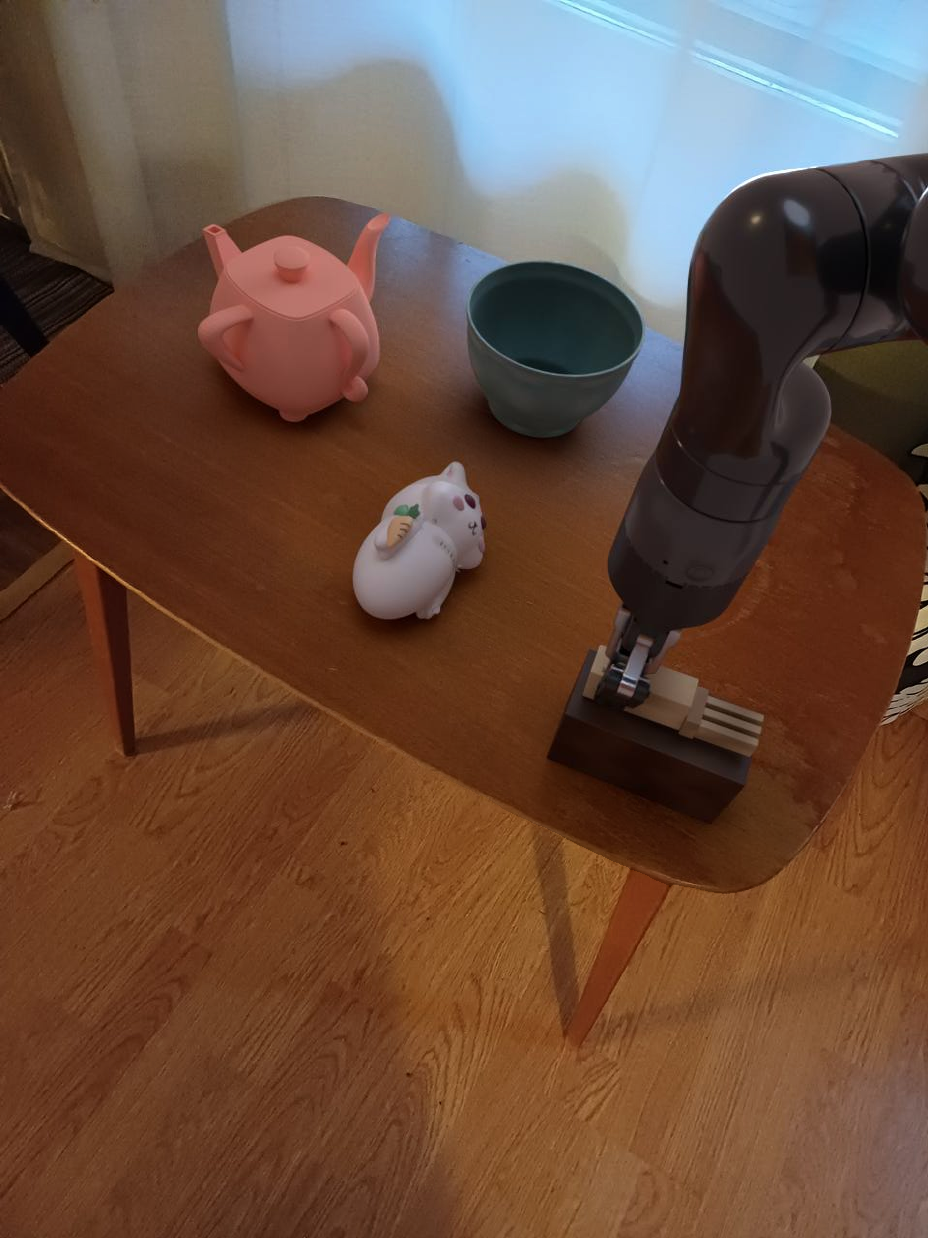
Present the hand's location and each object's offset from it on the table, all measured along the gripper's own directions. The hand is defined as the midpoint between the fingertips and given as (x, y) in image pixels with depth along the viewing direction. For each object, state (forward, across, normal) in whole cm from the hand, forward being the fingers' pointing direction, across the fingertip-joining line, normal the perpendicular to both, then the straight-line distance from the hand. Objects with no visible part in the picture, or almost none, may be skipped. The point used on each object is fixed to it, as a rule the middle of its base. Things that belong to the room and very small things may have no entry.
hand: (614, 685), depth 64 cm
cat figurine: (+8, -9, -18) cm, 22 cm away
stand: (+8, 0, +4) cm, 9 cm away
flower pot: (+8, -33, -16) cm, 37 cm away
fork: (+1, 0, +4) cm, 4 cm away
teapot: (+8, -27, -38) cm, 47 cm away
